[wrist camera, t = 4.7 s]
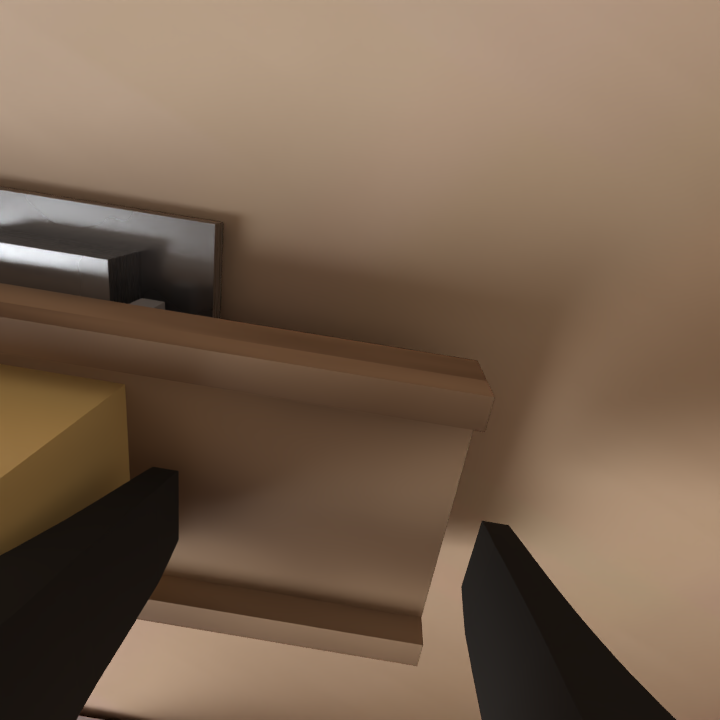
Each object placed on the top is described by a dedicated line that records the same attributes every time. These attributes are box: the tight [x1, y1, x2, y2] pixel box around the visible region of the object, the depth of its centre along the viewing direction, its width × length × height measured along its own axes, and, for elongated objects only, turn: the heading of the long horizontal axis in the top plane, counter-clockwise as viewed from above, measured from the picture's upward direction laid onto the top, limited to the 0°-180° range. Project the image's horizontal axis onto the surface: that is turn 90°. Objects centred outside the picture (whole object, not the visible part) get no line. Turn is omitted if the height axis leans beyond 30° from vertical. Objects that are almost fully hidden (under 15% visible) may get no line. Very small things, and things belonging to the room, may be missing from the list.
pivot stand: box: [0, 187, 223, 319], centre depth 13 cm, size 12×8×2 cm, turn 172°
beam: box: [0, 283, 495, 666], centre depth 12 cm, size 8×22×3 cm, turn 82°
